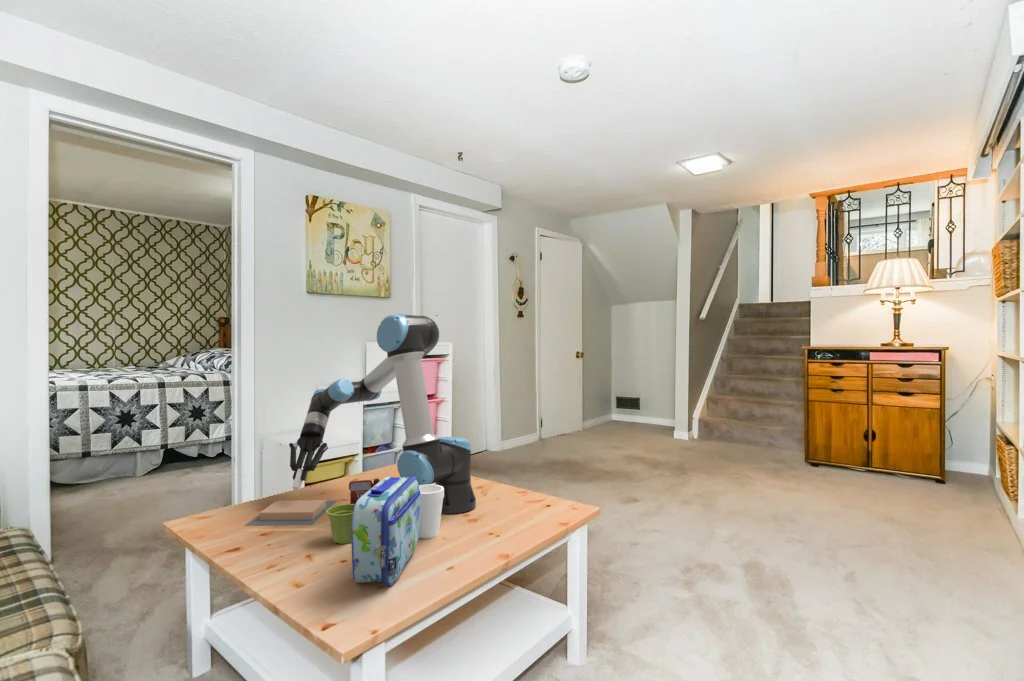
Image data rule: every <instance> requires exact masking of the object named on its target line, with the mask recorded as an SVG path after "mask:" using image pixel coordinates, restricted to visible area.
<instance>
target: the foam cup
mask: <svg viewBox="0 0 1024 681" xmlns="http://www.w3.org/2000/svg"><path fill="white" fill-rule="evenodd" d="M419 489H420V516H419V536H418V539H432V538H435V537H437V536H439V533H440V525H441V519H442V513H441V512H442V504H443V497H444V487H443V486H440V485H435V483H432V484H426V485H419Z"/></svg>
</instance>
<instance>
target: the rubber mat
mask: <svg viewBox="0 0 1024 681" xmlns="http://www.w3.org/2000/svg"><path fill="white" fill-rule="evenodd" d="M337 501H338V500H332V499H331V500H326V508H325V509H324V510H323V511H322V512H321V513H320V514H319V515H317V516H316V517H315V518H314V519H313V520H263V521H260V514H258V515H257V516H256V517H254V518H252V520H250V521H249V522H248V523H246V524H244V526H245V527H250V526H252V527H253V526H255V527H256V526H257V527H260V526H261V527H262V526H264V527H265V526H268V527H269V526H274V527H276V526H313V525H314V524H315V523H316V522H317V521H318V520H319V519H320V518H321V517H322V516H323V515H324V514H326V513H327V512H326V511H327V510H328V509H329V508H331V507H333V505H334V504H335V503H336V502H337Z"/></svg>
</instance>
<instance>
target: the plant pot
mask: <svg viewBox="0 0 1024 681" xmlns="http://www.w3.org/2000/svg"><path fill="white" fill-rule="evenodd" d="M354 506H355V504H350V503H344V504H337V505H334V506H331V507H330V508H329V509H328V510H327V511H326V512H325V513H326V514H327V515H328V519H329V521H330V529H331V535H332V541H333V543H334V544H340V545H345V544H350V543H351V526H352V515H353V510H354Z"/></svg>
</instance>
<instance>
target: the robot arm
mask: <svg viewBox="0 0 1024 681" xmlns="http://www.w3.org/2000/svg"><path fill="white" fill-rule="evenodd" d="M439 339H440V328H439V327H438V324H437V323H436V321H434V320H433V318H430V317H428V316H425V315H415V314H414V315H411V314H401V313H398V314H390V315H387V316H385V317H384V318H383V319H382V320H381V321H380V324H379V325H378V327H377V331H376V342H377V345H378V347H379V348H380V349H381V350H382V351H384V352H386V354H387V356H386V358H384V359H383V360H382V361H381V362H380V363H379V364H378V365H376V367H375V368H373V370H371V371H370V372H369V373H368V374H367V375H365V377H364V378H362V379H361V380H358V381H350V380H349V379H346V378H339V379H337V380H336V381H334V382H332V383H331V384H330V385H329V386H327V387H326V388H320V389H319V388H318V389H317V390H315V391H314V393H313V395H312V396H311V399H310V404H309V406H308V409H307V413H306V417H305V419H304V422H303V426H302V428H301V432H300V435H299V438H298V439H297V441H296V442H294V443H293V442H290V443H289V444H288V446H289V448H290V458H289V459H290V460H289V467H290V469H291V471H292V472H293V475H292V479H293V480H292V481H293V482H292V483H293V484H292V489H293V490H294V492H300V491H301V486H302V484H303V481H306V479H307V477H308V473H309V472H310V471H311V472H314V471H315V469H316V467H317V466H318V465H319V462H320V461H321V459H322V457H323V455H324V453H326V452H327V450H328V449H329V446H328V443H327V442H324V441H323V440H324V436H325V432H326V429H327V426H328V422H329V417H330V415H331V412H332V411H333V410H335V409H336V408H338V407H339V406H340V405H344V404H345V405H346V404H351V403H359V402H360V403H361V402H371V401H374V400H377V399H379V398H380V397H381V394H382V390H383V389H384V388H385V387H387V385H389V384H390V383H391V382H392V381H393V380H395V379H396V384H397V390H398V391H397V392H398V398H399V405H400V409H401V415H402V417H401V418H402V421H403V427H404V435H405V439H404V442H403V443H402V446H401V447H402V453H400V455H399V456H398V459H397V462H396V466H397V471H398V475H399V477H400V478H402V477H409V478H410V477H417V479H418V485H426V484H434V485H440V486H443V487H444V497H443V504H442V512H441V514H446V515H448V514H449V515H450V514H451V515H452V514H453V515H455V514H456V513H457V514H462V512H464V513H467V511H468V512H470V511H469V510H471V511H473V510H474V509H475V508H476V507H477V498H476V496H475V492H474V489H473V486H472V480H471V475H472V474H471V472H472V471H471V467H472V465H471V458H472V456H471V455H472V453H471V452H472V449H471V442H470V440H469V439H467V438H464V437H457V436H438V435H436V434H434V429H433V423H432V417H431V411H430V405H429V399H428V394H427V387H426V383H425V377H424V371H423V364H422V358H424V357H426V356H427V355H428V354H429V353H430V352H432V351H433V349H435V347H436V346H437V344H438V343H439ZM298 447H299V453H298V457H297V450H298ZM475 506H476V507H475ZM473 508H474V509H473ZM472 509H473V510H472Z"/></svg>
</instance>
